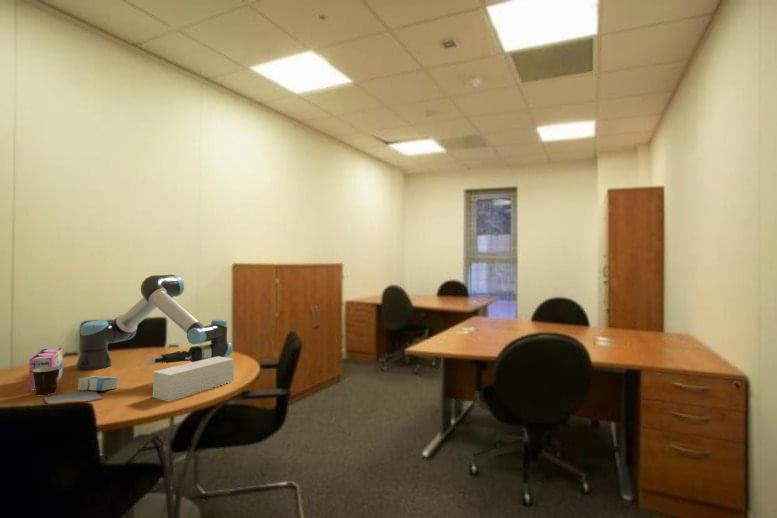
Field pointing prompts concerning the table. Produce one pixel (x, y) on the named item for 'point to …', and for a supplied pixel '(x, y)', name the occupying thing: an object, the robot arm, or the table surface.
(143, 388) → the table surface
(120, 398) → the table surface
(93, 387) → the ink box
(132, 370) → the table surface
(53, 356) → the gum box
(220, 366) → the long white block
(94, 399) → the felt pad
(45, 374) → the coffee mug
